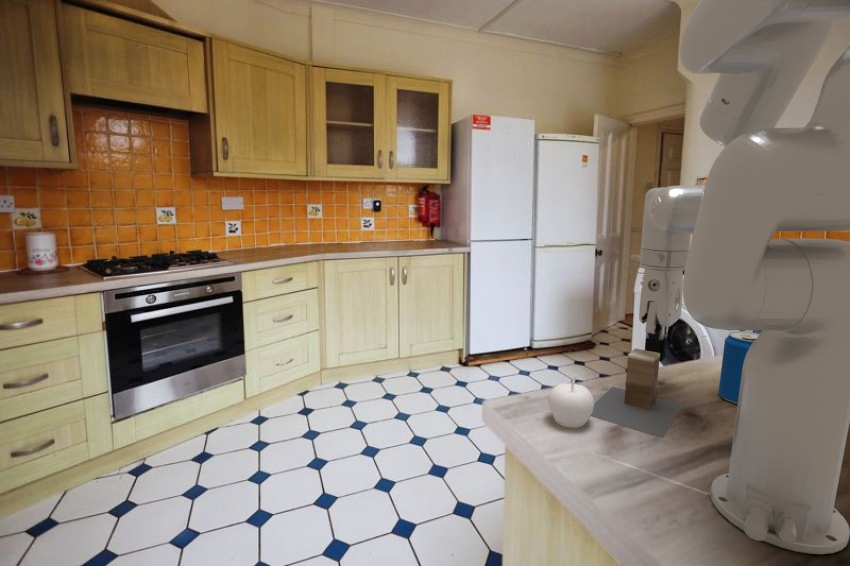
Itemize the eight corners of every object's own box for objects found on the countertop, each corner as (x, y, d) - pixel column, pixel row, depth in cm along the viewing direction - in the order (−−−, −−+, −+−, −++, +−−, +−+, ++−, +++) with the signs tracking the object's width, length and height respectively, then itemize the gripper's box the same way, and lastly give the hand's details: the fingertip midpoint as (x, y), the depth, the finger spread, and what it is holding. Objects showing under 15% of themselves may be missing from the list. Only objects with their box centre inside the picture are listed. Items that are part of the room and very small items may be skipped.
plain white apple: (602, 427, 72) (606, 380, 71) (569, 438, 69) (571, 389, 67) (570, 409, 78) (572, 365, 77) (538, 419, 75) (539, 373, 74)
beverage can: (724, 406, 79) (732, 339, 76) (713, 391, 85) (720, 329, 82) (768, 411, 77) (778, 343, 74) (753, 395, 83) (762, 331, 81)
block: (648, 410, 77) (653, 359, 75) (624, 403, 79) (628, 354, 77) (655, 402, 80) (660, 353, 78) (631, 396, 82) (635, 348, 80)
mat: (662, 440, 68) (662, 438, 68) (583, 415, 76) (583, 413, 76) (683, 407, 79) (683, 404, 78) (612, 388, 86) (612, 386, 86)
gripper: (677, 266, 72) (666, 376, 76) (697, 256, 83) (686, 352, 87) (627, 262, 77) (619, 365, 80) (652, 253, 88) (644, 344, 91)
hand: (654, 358), depth 83 cm, fingers closed
